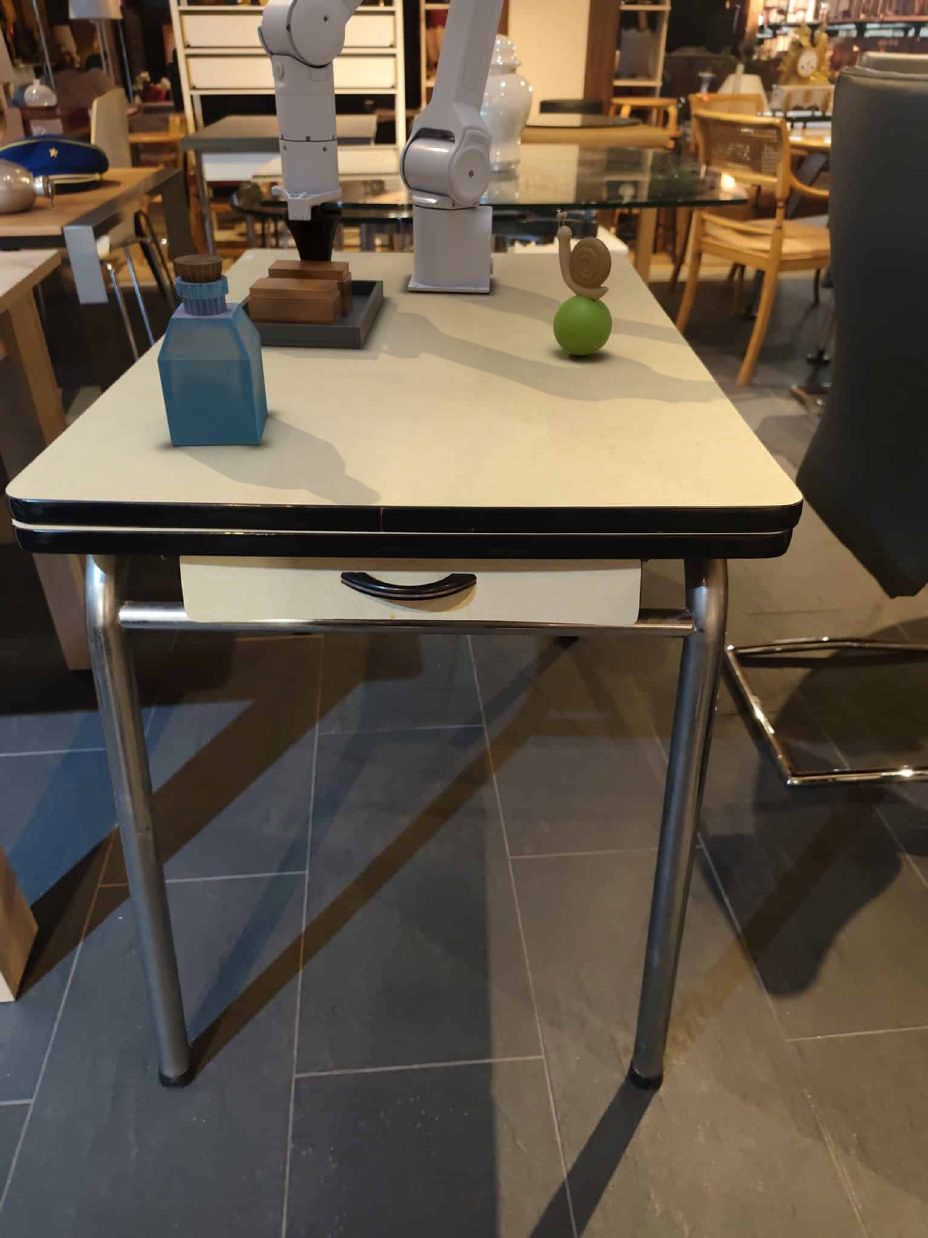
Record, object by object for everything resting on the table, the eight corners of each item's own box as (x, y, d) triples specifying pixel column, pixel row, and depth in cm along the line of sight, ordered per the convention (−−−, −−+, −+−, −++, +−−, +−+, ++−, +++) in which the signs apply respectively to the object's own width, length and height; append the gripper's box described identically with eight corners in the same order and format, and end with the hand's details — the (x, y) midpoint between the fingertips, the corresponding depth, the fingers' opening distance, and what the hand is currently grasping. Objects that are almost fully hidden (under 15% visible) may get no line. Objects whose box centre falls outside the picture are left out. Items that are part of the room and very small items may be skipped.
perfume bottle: (186, 414, 69) (161, 249, 62) (267, 413, 69) (250, 250, 62) (171, 445, 63) (141, 269, 57) (259, 444, 64) (239, 269, 57)
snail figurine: (568, 340, 88) (579, 208, 81) (620, 355, 84) (636, 217, 77) (531, 351, 84) (540, 214, 78) (583, 366, 81) (597, 224, 74)
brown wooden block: (342, 326, 88) (339, 279, 86) (335, 339, 85) (332, 290, 82) (262, 324, 88) (257, 277, 86) (251, 336, 85) (246, 287, 82)
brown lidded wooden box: (353, 305, 95) (350, 261, 93) (346, 316, 91) (344, 270, 89) (279, 303, 95) (275, 259, 93) (269, 314, 92) (265, 268, 89)
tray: (383, 298, 100) (383, 280, 99) (361, 348, 84) (360, 326, 83) (267, 295, 100) (265, 276, 99) (223, 344, 84) (220, 322, 83)
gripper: (283, 131, 94) (294, 266, 102) (250, 145, 82) (265, 296, 89) (349, 133, 94) (355, 267, 101) (326, 147, 82) (335, 298, 89)
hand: (317, 281), depth 95 cm, fingers closed
